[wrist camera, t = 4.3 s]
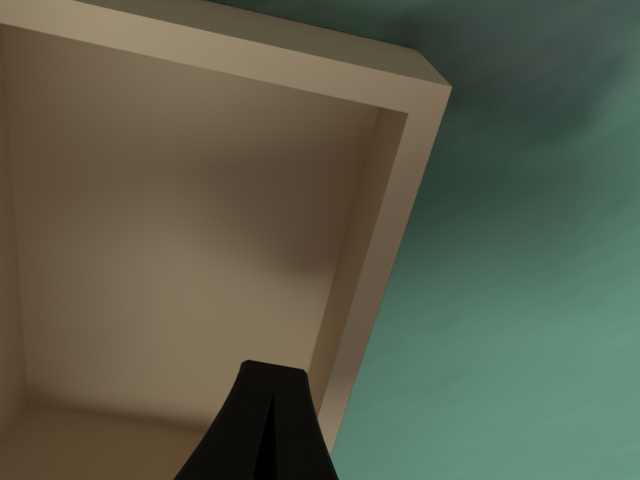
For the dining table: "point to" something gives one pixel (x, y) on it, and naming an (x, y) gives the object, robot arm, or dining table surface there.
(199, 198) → the box
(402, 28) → the dining table surface
